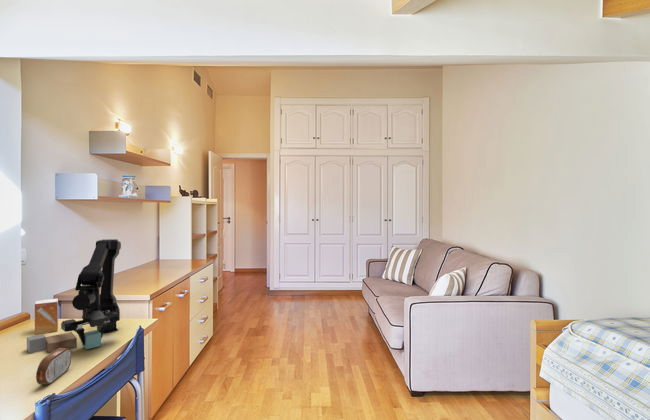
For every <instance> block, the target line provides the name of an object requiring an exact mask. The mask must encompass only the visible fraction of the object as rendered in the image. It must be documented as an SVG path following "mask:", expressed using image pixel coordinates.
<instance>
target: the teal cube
mask: <svg viewBox="0 0 650 420" xmlns="http://www.w3.org/2000/svg"><path fill="white" fill-rule="evenodd" d="M84 337H85V345H83V344H82V343H81V345H82V347H83V348H84V349H86V350H89V349H93V348H94V349H95V348H98V347H101V346H102V338H101V333H100V332H99V331H97V329H94V330H90V331H84Z"/></svg>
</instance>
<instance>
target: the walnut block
mask: <svg viewBox="0 0 650 420" xmlns="http://www.w3.org/2000/svg"><path fill="white" fill-rule="evenodd" d="M45 337H46V350H45V351H47V354H48V355H49V354H51V353H52V352H54V351H55V350H57V349H59V348H68V349H70V350H72V349H76V348H78V346H77V345H78V342H77V341H78V340H77V339H78V337H76V335H75V334H74V333H73V332H72V331H68V332H64V333H60V334H55V335H49V336H45Z"/></svg>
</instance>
